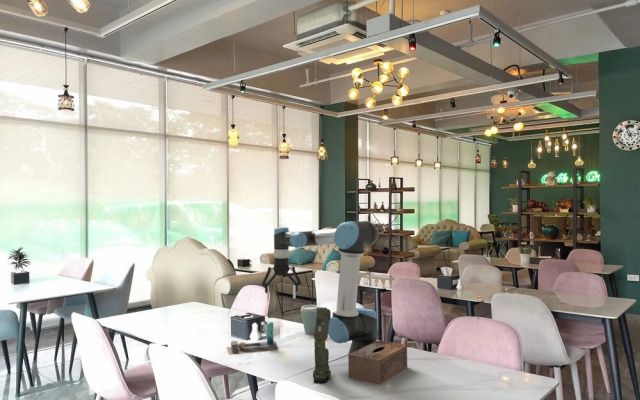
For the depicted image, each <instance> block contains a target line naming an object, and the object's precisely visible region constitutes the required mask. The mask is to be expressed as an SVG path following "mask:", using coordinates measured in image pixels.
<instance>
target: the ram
mask: <svg viewBox="0 0 640 400" xmlns="http://www.w3.org/2000/svg"><path fill="white" fill-rule="evenodd" d="M274 328H275V327H274V322H273V321H267V322H266V341H261V342H260V341H259V342H260V346H265V345H277V346H278V342H277V341H276V340H275V339H274V337H275V336H274Z"/></svg>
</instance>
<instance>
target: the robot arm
mask: <svg viewBox="0 0 640 400" xmlns="http://www.w3.org/2000/svg"><path fill="white" fill-rule="evenodd" d="M289 229H290V228H289V227H287V226H285V227H284V226H280V227H279V226H277V227H275V228H274V231H273V256H274V258H273V267H271V266H268V267H267V271H266V274H265V275H264V278H263V280H262V281H261V286H263V287H264V293H265V294H266V300H267V301H269V300H270V284H271V283H272V282H273V280H274V279H275V278H276V277H277V276H279V277H281V276H287V277H288V279H290V281H291V282H292V283H293V286H292V287H293V288H292V289H293V290H292V292H293V293H292V298H293V299H296V296H297V295H296V293H297V292H298V289H299V288H298V287H299V285H302V281H301V280H300V278H299V276H298V274H297V272H296V267H295V266H294V265H293V266H292V265H291V266H289V265H290V264H289V263H290V258H289V256H290V251H289V249H290V248H291V247H293V248H297V249H298V248H303V247H310V246H325V245H327V246H328V245H335V246H336V247H337V248H338V250H337V251H338V252H339V254H340V265H339V277H338V287H337V288H338V289H337V299H336V300H337V301H336V307H335V308H333V309H332V316H331V318H330V320H329V328H328V337H329V338H330V339H331V341H332V342H333V343H336V344H343V343H345V344H346V343H348V342H350V341H351V343H350V347H349V350H348V354H350V353H353V352H355V351H357V350H359V349H361V348H363V347H365V346H367V345H369V344H371V343H373V342H375V341H378V338H377V336H378V331H377V328H378V326H377V323H378V321H377V320H378V318H377V312H376V311H375V310H374V309H370V308H365V307H357V297H358V288H359V277H360V264H361V258H362V256H363V255H364V254H365V251H366V250H365V248H366V247H371V246H373V245H374V244H376V242H377V240H378V239H379V229H378V228H377V226H376V225H375V224H374V223H373V222H371V221H366V220H363V221H362V220H361V221H357V220H356V221H346V222H345V221H344V222H341V223H340V224H339V225H337V227H336V228H330V229H320V230H308V231H307V230H306V231H303V230H302V231H290V230H289ZM289 247H290V248H289ZM272 271H273V272H274V273H273V274H272V275H271V277H270V278H269V276H270V274H271V272H272ZM289 271H291V272H292V273H293V275H294V277H295V279H294V278H293V277H292V275H291V274H290V272H289ZM268 278H269V279H268ZM267 279H268V280H267Z"/></svg>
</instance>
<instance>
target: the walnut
mask: <svg viewBox="0 0 640 400" xmlns="http://www.w3.org/2000/svg"><path fill="white" fill-rule="evenodd" d="M238 344H239V349H241V350H243V347H246V342H244V341H241V342H238Z"/></svg>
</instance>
